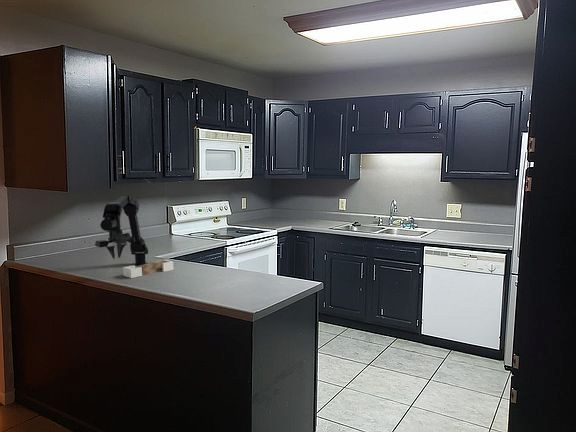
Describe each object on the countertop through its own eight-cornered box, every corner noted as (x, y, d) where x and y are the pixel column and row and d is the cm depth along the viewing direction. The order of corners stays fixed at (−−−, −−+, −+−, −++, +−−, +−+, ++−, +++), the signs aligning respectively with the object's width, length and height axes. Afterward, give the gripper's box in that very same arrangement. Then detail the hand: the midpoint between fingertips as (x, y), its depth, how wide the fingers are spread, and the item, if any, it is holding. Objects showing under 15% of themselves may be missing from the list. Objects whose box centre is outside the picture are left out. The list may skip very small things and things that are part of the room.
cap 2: (155, 269, 259) (155, 261, 258) (165, 267, 263) (165, 259, 263) (163, 271, 253) (163, 263, 253) (173, 269, 258) (173, 261, 257)
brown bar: (163, 269, 261) (162, 260, 260) (167, 269, 259) (166, 261, 258) (138, 274, 248) (138, 265, 247) (143, 275, 246) (142, 266, 245)
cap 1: (123, 275, 245) (123, 267, 244) (134, 273, 249) (133, 265, 249) (131, 278, 239) (130, 269, 239) (142, 275, 244) (141, 267, 243)
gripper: (104, 231, 223) (106, 263, 225) (139, 227, 236) (141, 257, 238) (93, 229, 230) (95, 260, 232) (128, 225, 244) (130, 254, 246)
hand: (116, 258), depth 237 cm, fingers open, 3 cm apart
